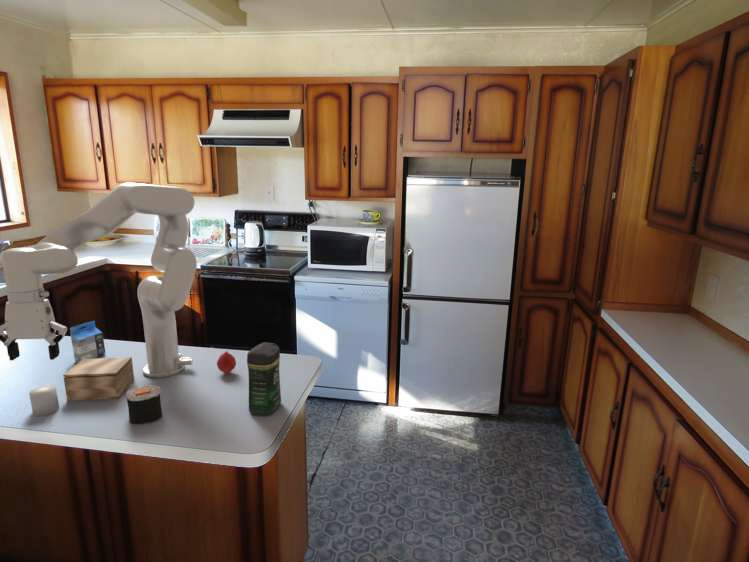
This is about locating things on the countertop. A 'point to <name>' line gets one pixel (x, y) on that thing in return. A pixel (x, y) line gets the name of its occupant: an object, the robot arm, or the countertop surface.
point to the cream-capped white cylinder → (44, 400)
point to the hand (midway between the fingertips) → (34, 358)
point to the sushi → (144, 404)
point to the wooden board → (98, 367)
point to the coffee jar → (264, 378)
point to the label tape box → (87, 342)
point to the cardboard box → (99, 385)
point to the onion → (226, 362)
